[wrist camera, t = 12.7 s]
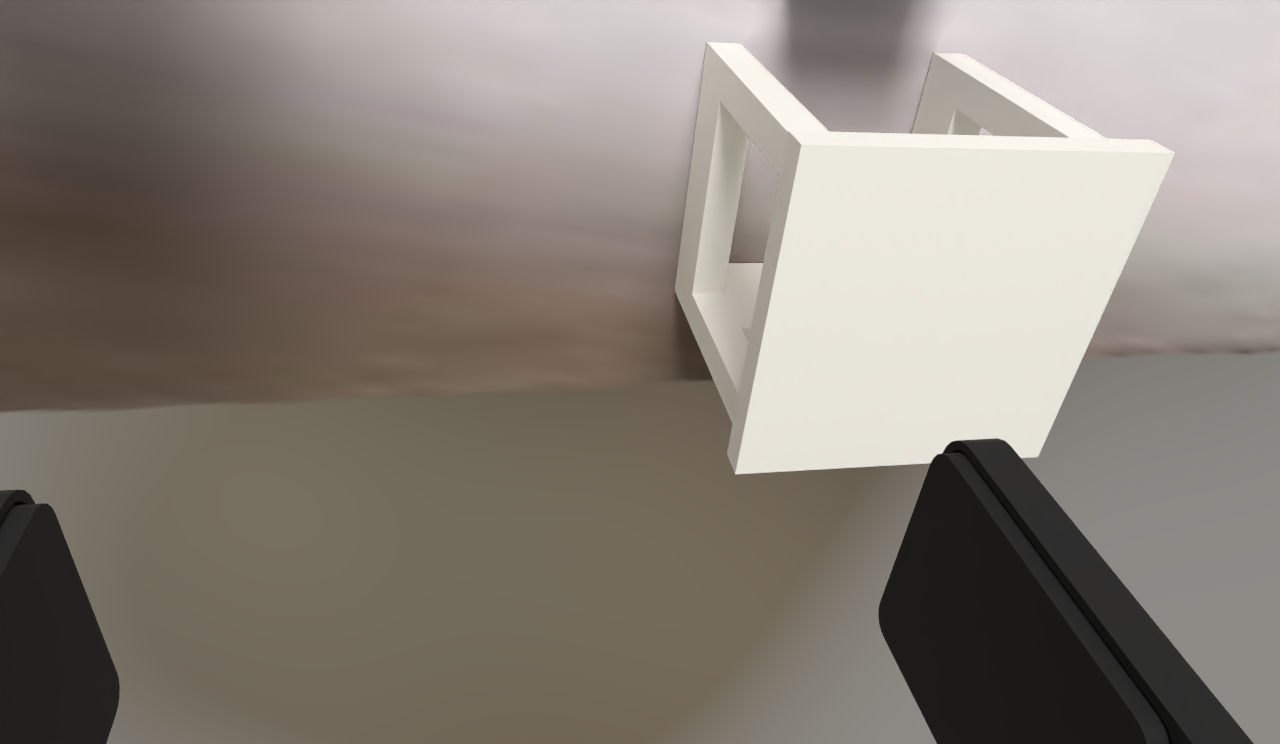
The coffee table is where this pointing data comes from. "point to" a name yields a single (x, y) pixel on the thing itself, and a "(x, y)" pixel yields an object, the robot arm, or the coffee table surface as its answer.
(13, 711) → the robot arm
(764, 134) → the white open frame box
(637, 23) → the coffee table surface
